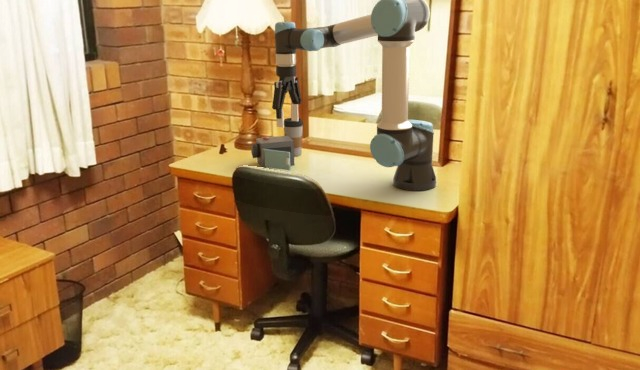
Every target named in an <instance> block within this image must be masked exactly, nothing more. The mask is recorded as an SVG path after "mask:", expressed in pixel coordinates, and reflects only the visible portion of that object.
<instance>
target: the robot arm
mask: <svg viewBox="0 0 640 370" xmlns="http://www.w3.org/2000/svg"><path fill="white" fill-rule="evenodd" d="M430 11H431V10H430V7H429V4H428V3H427V1H426V0H378V2H377V3H376V4H374V6H373V8H372V10H371V13H370V14H367V15H363V16H360V17H357V18H353V19H349V20H346V21H342V22H338V23H334V24H332V25H327V26H320V27H309V28H297V27H296V23H295V22H294V21H278V22H276V23H275V25H274V43H275V46H274V47H275V48H274V49H275V65H276V66H275V71H276V72H275V75H276V76H277V77H278V78H279V79H278V81H274V83H273V84H274V89H273V97H272V104H271V105H272V106H271V107H272V109H273V110H275V114H276V115H275V117H276V127H277V128H284V119H285V118H284V117H285V116H284V115H285V114H284V113H285V112H284V109H283V107H284V104H285V103H284V102H285V98H286V94H287V93H288V95H289V97H290V100H291V104H290V107H291V108H290V111H291V117H290V118H292V121H299V105H301V104H302V96H301V89H300V85H299V77H298V76H297V65H296V64H297V51H307V52H317V51H319V50H320V49H326V48H335V47H339V46H340V45H344V44H348V43H352V42H357V41H360V40H365V39H370V38H372V37H377V42H378V43H379V44H380V46H381V49H382V51H381V52H382V53H381V57H382V59H381V65H382V66H381V119H380V121H379V122H378V123H377V124H376V135H374V136H373V138H372V139H371V141H370V143H369V149H370V153H371V156H372V157H373V158H372V159H374V160H375V161H376V163H377V164H378V165H379V166H382V167H384V168H394V167H396V169H395V172H394V175H393V179H392V181H393V182H392V184H393V186H395V187H396V188H399V189H402V190H406V191H419V192H420V191H426V190H428V191H429V190H431V189H434V188H435V187H436V186H437V176H436V174H435V170H434V167H433V152H434V151H433V148H434V134H435V133H434V124H433V123H432V122H430V121H426V120H419V119H418V120H417V119H409V93H410V92H409V89H410V88H409V87H410V82H409V81H410V77H409V76H410V51H411V49H410V48H411V45H412V44H413V43H414V42H415V35H416V33H417V32H419V31H421V30H422V29H424V28H425V27H426V25H428V23H429V20H430V15H431V14H430V13H431V12H430Z"/></svg>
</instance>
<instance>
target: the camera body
mask: <svg viewBox="0 0 640 370" xmlns="http://www.w3.org/2000/svg"><path fill="white" fill-rule="evenodd" d="M255 141H256V142H255V143H252V144H251V146H250V147H251V149H250V151H251V156H252V159H256V161H257V164H258V165H259V167H262V148H264V149H269V150H277V151H285V152H290V165H291V166H295V157H294V141H293V140H292V139H291V138H290V137H289V136H284V135H279V136H278V135H277V136H269V135H268V136H267V135H265V136H262V137H257V138H256V139H255ZM267 169H269V167H268V168H267Z"/></svg>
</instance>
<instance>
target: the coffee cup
mask: <svg viewBox="0 0 640 370" xmlns="http://www.w3.org/2000/svg"><path fill="white" fill-rule="evenodd" d="M303 126H304V122H303V119H302V118H301V117H300V118H299V121H292V118H291V117H287V118H284V127H283V131H284V133H283V136H289V137H290V138H291V139H292V140H293V141H294V158H295V157H300V156H301V155H302V151H303V150H302V148H303Z"/></svg>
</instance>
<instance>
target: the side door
mask: <svg viewBox="0 0 640 370" xmlns="http://www.w3.org/2000/svg"><path fill="white" fill-rule="evenodd" d="M291 166H292V165H290V152H285V151H277V150H269V149H264V148H262V167H269V168H270V169H277V170H285V171H291V169H292V168H291ZM269 168H268V169H269Z"/></svg>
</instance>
